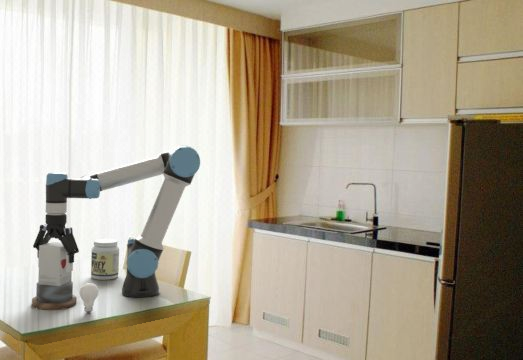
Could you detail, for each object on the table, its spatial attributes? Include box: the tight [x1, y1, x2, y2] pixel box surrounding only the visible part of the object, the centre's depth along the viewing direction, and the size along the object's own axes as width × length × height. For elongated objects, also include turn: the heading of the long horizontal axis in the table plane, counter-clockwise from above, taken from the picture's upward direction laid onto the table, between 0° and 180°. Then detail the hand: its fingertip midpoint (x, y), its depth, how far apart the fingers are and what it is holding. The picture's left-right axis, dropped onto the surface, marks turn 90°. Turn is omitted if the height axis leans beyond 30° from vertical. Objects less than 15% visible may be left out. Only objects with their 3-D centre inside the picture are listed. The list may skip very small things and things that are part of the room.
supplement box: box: [37, 241, 73, 287], centre depth 218 cm, size 9×9×15 cm
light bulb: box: [79, 282, 99, 314], centre depth 209 cm, size 7×7×11 cm
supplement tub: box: [90, 238, 120, 281], centre depth 262 cm, size 12×12×17 cm
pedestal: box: [31, 280, 78, 311], centre depth 218 cm, size 16×16×8 cm
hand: (55, 269), depth 218 cm, fingers open, 13 cm apart
